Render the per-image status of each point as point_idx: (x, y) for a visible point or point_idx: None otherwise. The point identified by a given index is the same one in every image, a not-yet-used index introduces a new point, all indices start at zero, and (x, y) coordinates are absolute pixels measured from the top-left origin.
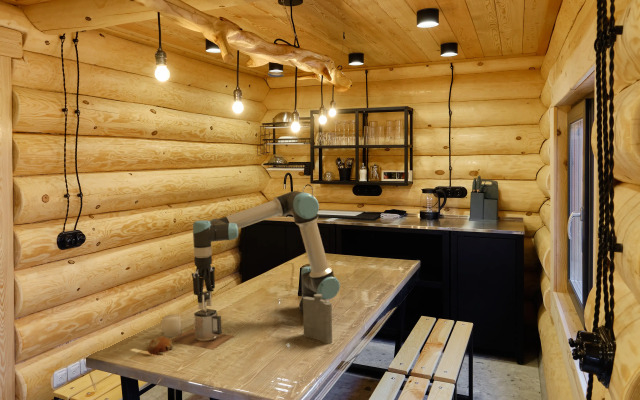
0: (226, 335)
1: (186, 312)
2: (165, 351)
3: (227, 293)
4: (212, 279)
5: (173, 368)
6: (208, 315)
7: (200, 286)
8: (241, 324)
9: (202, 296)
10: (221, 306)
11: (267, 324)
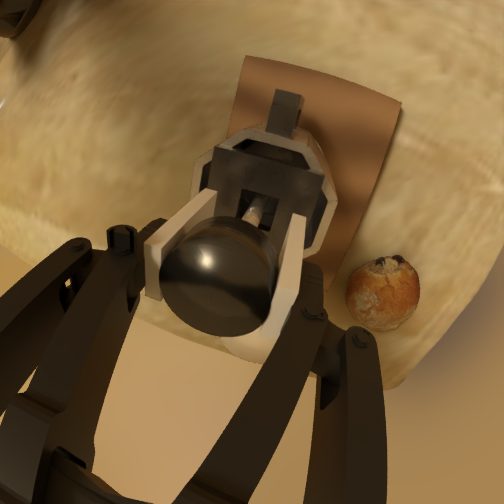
0: (247, 91)
1: None
2: (414, 269)
3: (12, 249)
4: (20, 319)
5: (496, 207)
6: (306, 168)
7: (290, 411)
8: (117, 103)
9: (297, 288)
10: (48, 234)
11: (105, 24)
